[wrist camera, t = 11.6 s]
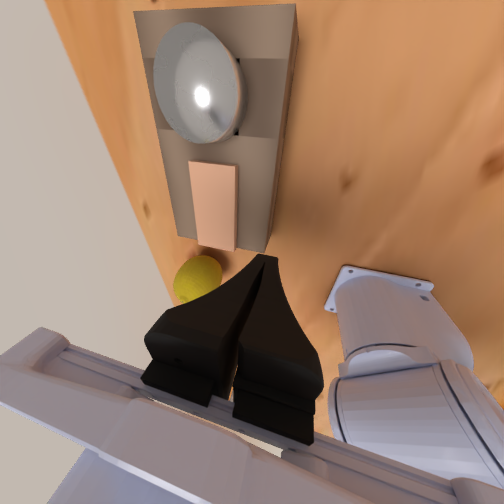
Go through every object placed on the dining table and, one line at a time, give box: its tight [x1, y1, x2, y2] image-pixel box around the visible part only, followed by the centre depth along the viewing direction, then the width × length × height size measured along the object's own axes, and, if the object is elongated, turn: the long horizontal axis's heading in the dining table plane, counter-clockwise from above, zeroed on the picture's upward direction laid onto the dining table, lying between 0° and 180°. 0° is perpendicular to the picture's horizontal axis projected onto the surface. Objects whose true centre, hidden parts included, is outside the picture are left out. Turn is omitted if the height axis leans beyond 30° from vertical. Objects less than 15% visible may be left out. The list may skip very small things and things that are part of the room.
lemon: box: [173, 255, 222, 304], centre depth 23 cm, size 6×6×8 cm
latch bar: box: [188, 160, 238, 252], centre depth 17 cm, size 8×4×1 cm, turn 176°
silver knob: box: [153, 22, 248, 143], centre depth 13 cm, size 5×5×6 cm
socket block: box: [133, 4, 299, 253], centre depth 16 cm, size 10×16×4 cm, turn 176°
